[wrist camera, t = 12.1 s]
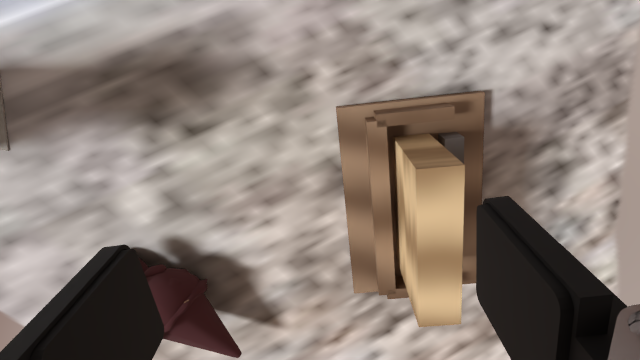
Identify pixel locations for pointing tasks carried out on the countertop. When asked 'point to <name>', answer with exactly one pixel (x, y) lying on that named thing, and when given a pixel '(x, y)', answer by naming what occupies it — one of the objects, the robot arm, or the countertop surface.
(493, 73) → the countertop surface
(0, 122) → the cheese grater
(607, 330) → the robot arm
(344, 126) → the cabinet base
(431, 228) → the door panel
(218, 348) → the icecream
